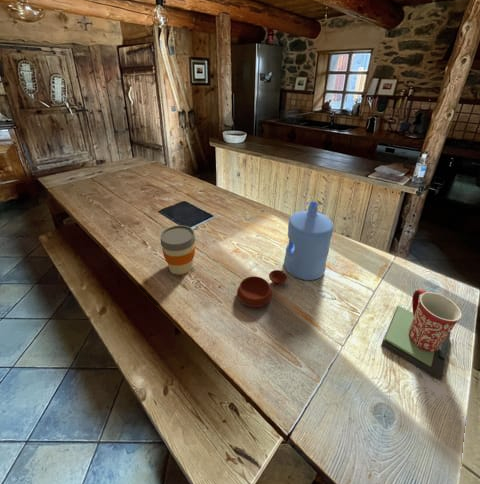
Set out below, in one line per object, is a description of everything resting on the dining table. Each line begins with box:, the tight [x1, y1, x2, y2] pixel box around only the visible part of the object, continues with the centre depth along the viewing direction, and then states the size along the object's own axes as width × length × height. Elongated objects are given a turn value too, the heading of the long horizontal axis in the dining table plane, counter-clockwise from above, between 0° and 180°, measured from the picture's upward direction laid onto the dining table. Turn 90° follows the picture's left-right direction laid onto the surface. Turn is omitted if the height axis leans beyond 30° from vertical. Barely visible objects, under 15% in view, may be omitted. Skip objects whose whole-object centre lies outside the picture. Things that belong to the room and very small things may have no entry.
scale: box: [380, 305, 451, 381], centre depth 76 cm, size 14×16×3 cm
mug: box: [409, 289, 463, 352], centre depth 73 cm, size 13×9×14 cm
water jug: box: [283, 201, 334, 281], centre depth 98 cm, size 16×16×28 cm
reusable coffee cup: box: [160, 224, 196, 275], centre depth 100 cm, size 13×13×15 cm
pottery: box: [236, 269, 288, 308], centre depth 91 cm, size 12×20×4 cm, turn 127°
